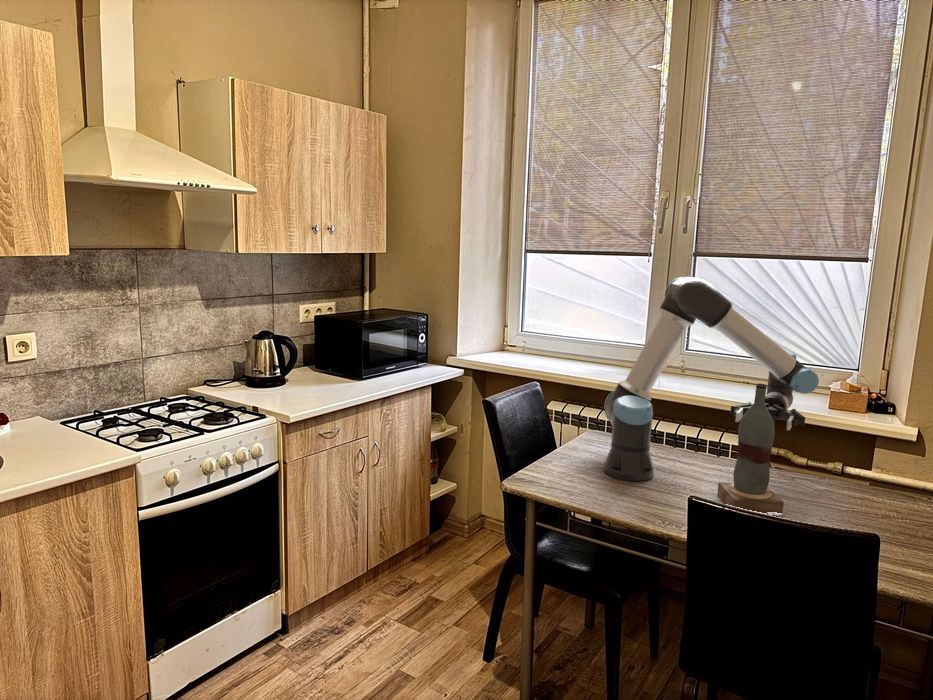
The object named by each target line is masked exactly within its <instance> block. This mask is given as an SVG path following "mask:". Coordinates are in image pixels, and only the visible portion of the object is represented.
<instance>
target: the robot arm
mask: <svg viewBox="0 0 933 700" xmlns="http://www.w3.org/2000/svg"><path fill="white" fill-rule="evenodd" d="M733 307H734V306H733V303H732V302H731V301H730V300H728V299H727V297H725V296H724V295H723V294H722V293H721V292H720V291H719V290H718V289H716V287H715V286H713V285H712V284H711V283H710V282H708V281H707V280H705V279H703V278H698V277H695V276H690V275H683V276H680V277H679V276H678V277H677V278H674V279H673V280H671V282H669V283H668V285H667V286H666V288H665V291H664V299H663V301H662V302H661V305H660V307H659V308H658V309H659V311H660V317H659V318H658V320H657V322H656V324H655V326H654V328H653V329H652V331H651V333H650V335H649V337H648V339H647V340H646V342H645V344H644V346H643V348H642V350H641V351H640V353H639V355H638V357H637V359H636V360H635V362H634V364H633V366H632V368H631V369H630V371H629V374H628V375H627V377H626V378H625V380H621V381H618V384H617V385H616V387H615V388H614V390H612V391H611V392H610V393H609V394H608V395H607V396H606V399H605V401H604V406H603V407H604V415H606V419H607V420H608V421H609V422H610V424H611V427H612V431H611V443H610V444H611V445H610V449H609V451H608V454H607V456H606V458H605V461H604V465H603V472H604V473H605V474H606V475H608V476H609V477H612V478H614V479H617V480H621V481H627V482H628V481H629V482H644V481H648V480H651V479H653V477H654V471H655V470H654V469H655V468H654V464H653V460H652V455H651V452H650V451H651V449H650V448H651V437H652V423H653V417H654V411H653V408H654V407H653V404H652V403H651V401H652V395H651V393H650V392H651V391H652V389H653V386H655V384H656V382H657V380H658V378H659V376H660V375H661V373H662V371H663V369H664V368H665V365H666V364H667V362H668V361H669V358H670V356H671V354H672V353H673V351H674V349H675V348H676V345H677V344H678V342H679V340H680V339H681V337H682V335H683V333H684V332H685V330H686V328H688V327H691V326H693V325H694V324H695V321H696V320H698V321H699V322H701V323H702V324H704V325H706V326H707V327H708V328H710V329H713V328H715V329H716V330H717V331H719V332H720V333H721V334H722V335H724V336H725V337H726V338H727V339H728V340H730V341H731V342H732V343H734V344H735V345H736V346H737V347H738V348H739V349H741V350H742V351H744V352H745V353H746V354H747V355H749V356H750V357H751V358H752V359H753V360H755V361H756V362H758V363H759V364H760V365H761V366H762V367H764V368H765V369H766V370H767V371H768V377H767V380H768V381H767V384H766V385H767V387H766V396H765V406H766V407H767V409H768V411H769V413H770V415H771V417H772V419H773V420H774V421H778V420H779V421H785V422H786V431H791V428H792V427H797V426H798V425H799V426H800V427H804V426H805V424H806V416H804V415H802V413H800V412H799V411H797V409H795V408H792V409H790V407H791V406H792V405H793V402H794V401H793V400H794V396H793V395H794V394H793V391H795V392H796V393H798V394H799V393H800V394H802V395H803V394H806V395H807V394H808V395H809V394H810V393H813V392H814V391H815V390H816V389H817V388H818V385H819V381H820V379H819V377H818V375H817V373H816V372H815V371H814V370H812V369H811V368H807V366H805V365H804V364H802V363H801V362H800V361H799V360H797V355H796V354H795V353H793V352H788V351H786V350H785V349H784V348H783V347H781V345H779V344H778V343H777V342H775V341H774V340H773V339H771V338H770V337H769V336H768V335H766V334H765V333H764V332H763V331H761V330H760V329H759V328H757V326H755V325H754V324H753V323H752V322H750V321H749V320H748V319H746V318H745V317H744V316H743V315H741V314H740V313H739V312H738V311H737V310H735V309H734V308H733ZM753 404H754V403H752V402H751V401H748V402H747V403H742V404H741V403H739V404H736V405H735V404H734V405H731V406H730V412H729V413H730V415H732V416H733V417H735V419H734V421H735V422H736V423H740V421H741V418H742V416H743V415H744V414H745V413H746V412H747V411H748V409H749V408H750V407H751V406H752V405H753Z"/></svg>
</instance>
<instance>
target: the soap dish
mask: <svg viewBox="0 0 933 700" xmlns="http://www.w3.org/2000/svg"><path fill="white" fill-rule="evenodd" d="M716 496H717V497H718V498H719V499H720V498H721V499H720V501H721V502H722V503H723V504H724V503H725V504H728V505H732V506H735V507H740V508H743V509H747V510H752V511H757V512H762V513H767V512H777V513H783V514H784V505H785V503H784V501H783V500H782V499H781V498H780V497H779V496H778V495H777V494H776V493H775V492H774V491H772V490H771V489H770V487H768V488H767V490H766V492H765V494H762V495H750V494H745V493H742V492H739V491H737V490H736V489H735V487H734V482H725V481H724V482H723V481H719V482H718V484H717V495H716ZM725 504H724V505H725ZM767 514H768V513H767Z"/></svg>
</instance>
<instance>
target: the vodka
mask: <svg viewBox="0 0 933 700" xmlns="http://www.w3.org/2000/svg"><path fill="white" fill-rule="evenodd" d="M767 385H768V384H766V383H765V384H764V383H756V384H755V386H756V387H755V393H754V402H753V403H752V404H753V405H752V406H751V407H750V408H749V409H748V411H747V412H746V413H745V414H744V415H743V416H742V418H741V419H740V420H739V425H738V429H737V439H738V440H737V457H736V458H737V459H736V461H735V465H734V470H733V474H732V475H733V483H734V487H735V489H736V490H737V491H739V492H742V493H745V494H750V495H762V494H765V492H766V490H767V488H769V484H770V480H771V479H770V478H771V477H770V476H771V473H770V458H771V453H772V449H773V444H774V440H775V436H776V435H775V431H776V429H775V420H773V419H772V417H771V415H770V413H769V411H768V409H767V407H766V406H765V396H766V394H767Z"/></svg>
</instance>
